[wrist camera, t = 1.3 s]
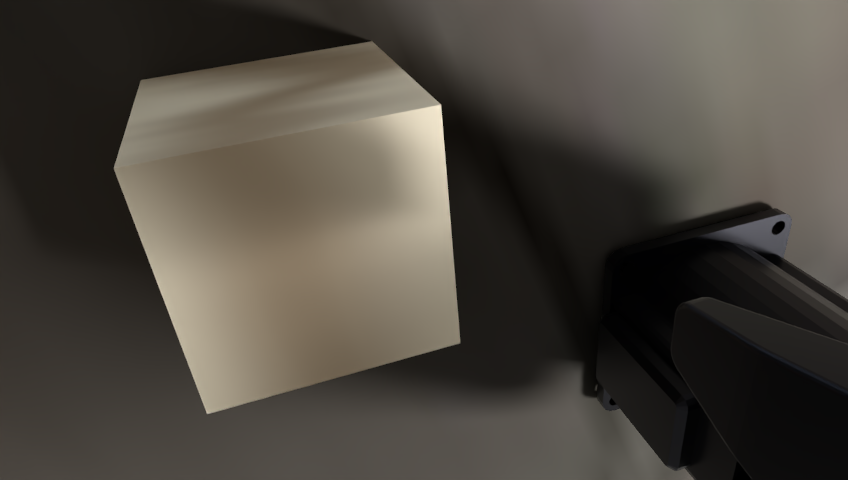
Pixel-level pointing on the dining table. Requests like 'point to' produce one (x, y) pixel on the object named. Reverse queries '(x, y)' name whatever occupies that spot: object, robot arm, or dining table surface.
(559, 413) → the dining table surface
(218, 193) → the birch block
